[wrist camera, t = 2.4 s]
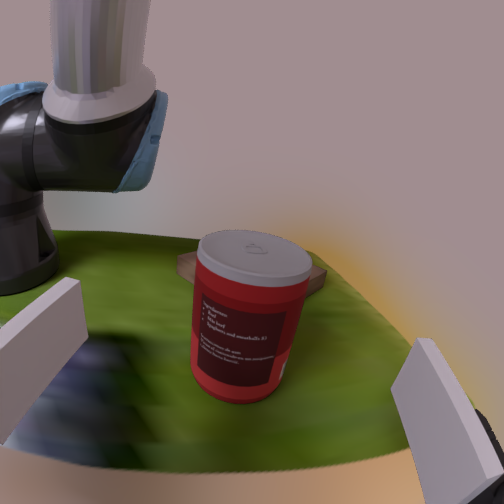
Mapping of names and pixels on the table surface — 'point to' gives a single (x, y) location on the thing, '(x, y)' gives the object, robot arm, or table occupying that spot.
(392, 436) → the table surface
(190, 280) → the walnut base
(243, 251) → the canned food
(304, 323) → the table surface
